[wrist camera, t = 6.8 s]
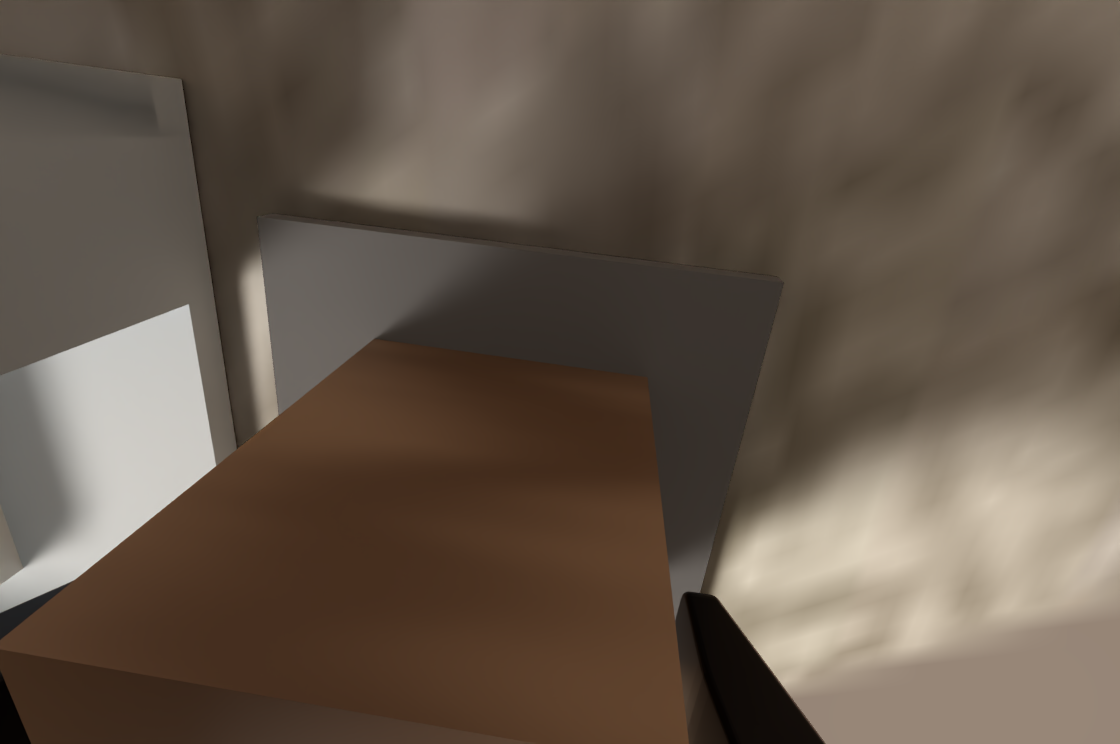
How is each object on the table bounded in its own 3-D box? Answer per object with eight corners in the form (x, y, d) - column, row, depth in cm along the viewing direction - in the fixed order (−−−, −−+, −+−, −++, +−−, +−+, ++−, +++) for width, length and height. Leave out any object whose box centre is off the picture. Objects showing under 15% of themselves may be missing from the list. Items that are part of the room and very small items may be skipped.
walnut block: (646, 376, 9) (691, 771, 3) (606, 589, 11) (592, 1075, 5) (374, 339, 9) (-9, 647, 4) (379, 552, 11) (130, 979, 5)
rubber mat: (777, 276, 8) (784, 282, 8) (678, 650, 12) (679, 667, 11) (271, 213, 9) (256, 216, 8) (310, 590, 12) (300, 604, 12)
